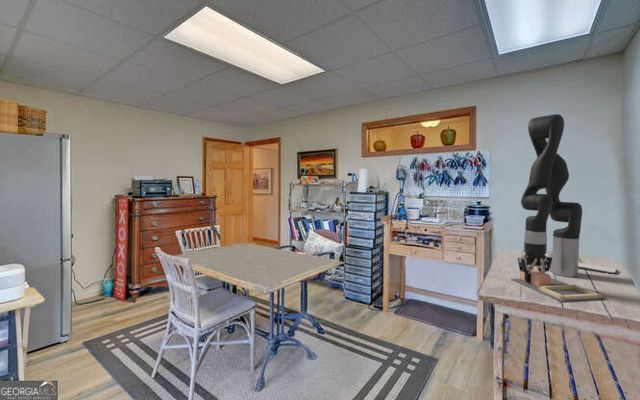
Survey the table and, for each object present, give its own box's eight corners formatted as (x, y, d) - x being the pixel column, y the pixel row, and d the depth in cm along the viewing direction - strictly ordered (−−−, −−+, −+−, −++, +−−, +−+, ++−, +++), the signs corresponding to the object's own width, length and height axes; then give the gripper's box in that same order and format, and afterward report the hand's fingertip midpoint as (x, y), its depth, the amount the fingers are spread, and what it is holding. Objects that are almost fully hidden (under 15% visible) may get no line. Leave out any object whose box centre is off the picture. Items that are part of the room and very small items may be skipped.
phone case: (617, 272, 139) (573, 264, 151) (618, 269, 139) (573, 261, 151) (615, 276, 133) (569, 268, 145) (615, 273, 133) (570, 265, 145)
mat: (511, 279, 128) (511, 276, 128) (549, 278, 130) (549, 274, 130) (560, 302, 105) (561, 297, 105) (606, 299, 106) (606, 295, 106)
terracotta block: (519, 278, 128) (519, 268, 128) (530, 278, 128) (530, 268, 128) (538, 286, 118) (538, 275, 118) (550, 286, 118) (550, 275, 118)
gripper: (543, 239, 126) (542, 277, 127) (512, 240, 125) (511, 279, 126) (559, 242, 119) (557, 283, 120) (526, 244, 118) (525, 285, 119)
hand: (534, 281), depth 123 cm, fingers closed on terracotta block, 5 cm apart
